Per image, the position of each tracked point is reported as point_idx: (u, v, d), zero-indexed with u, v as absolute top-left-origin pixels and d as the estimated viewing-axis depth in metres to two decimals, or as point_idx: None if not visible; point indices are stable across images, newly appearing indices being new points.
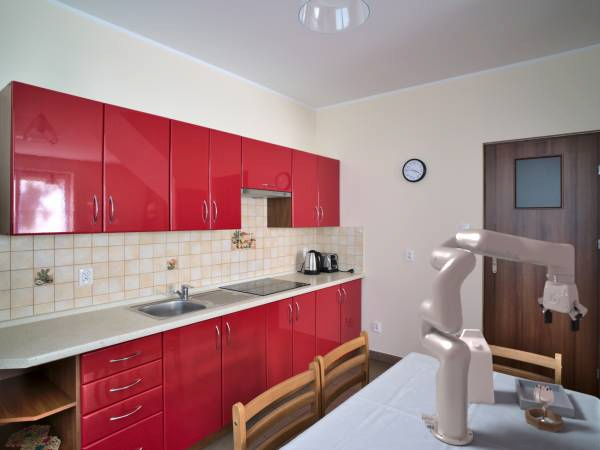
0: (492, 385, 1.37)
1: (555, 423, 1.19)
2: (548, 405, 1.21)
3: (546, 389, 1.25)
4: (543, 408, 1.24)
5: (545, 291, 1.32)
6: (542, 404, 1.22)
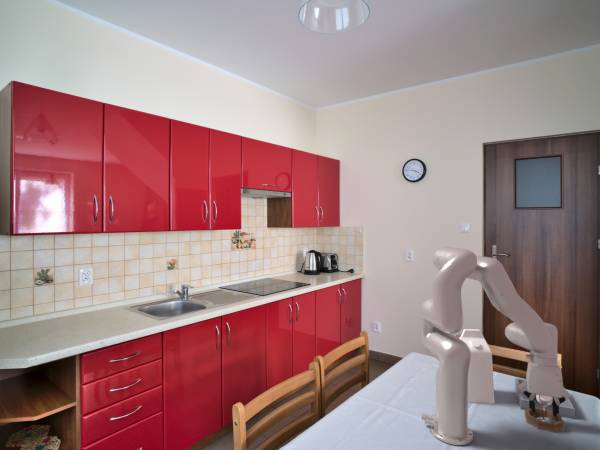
0: (492, 385, 1.37)
1: (555, 423, 1.19)
2: (548, 405, 1.21)
3: None
4: (543, 408, 1.24)
5: (531, 375, 1.23)
6: (542, 404, 1.22)
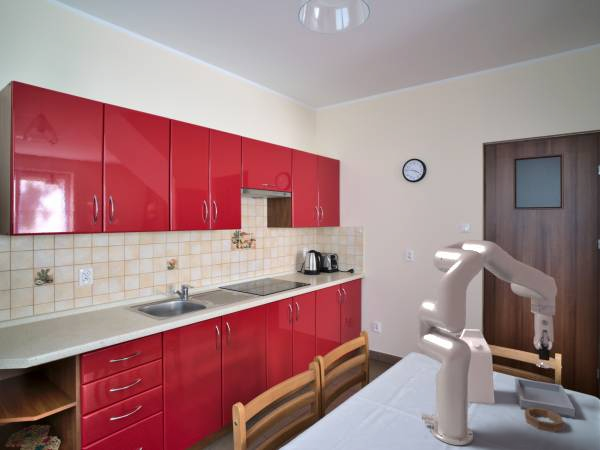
0: (492, 385, 1.37)
1: (555, 423, 1.19)
2: None
3: None
4: None
5: (552, 325, 1.32)
6: None
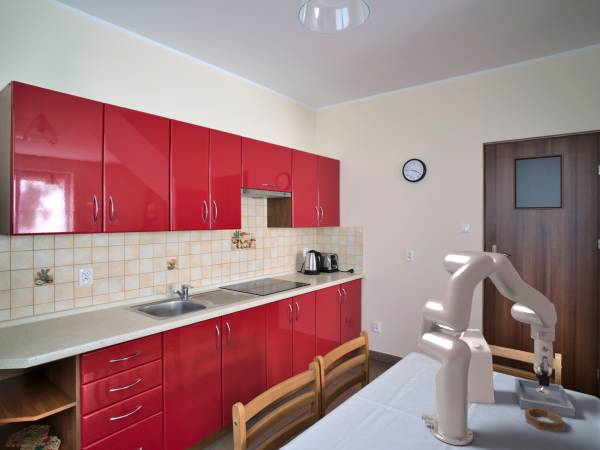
0: (492, 385, 1.37)
1: (555, 423, 1.19)
2: None
3: None
4: None
5: (552, 352, 1.33)
6: None
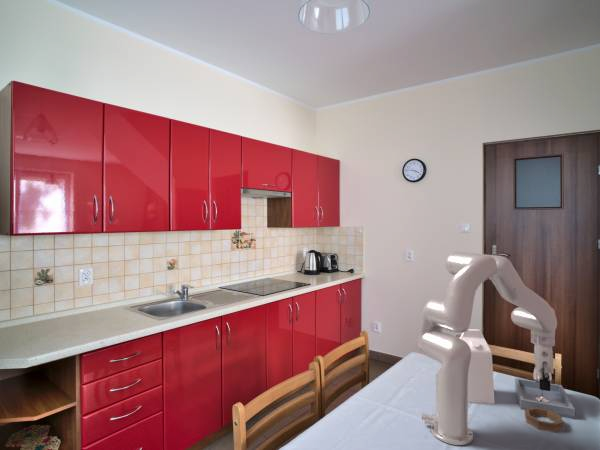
0: (492, 385, 1.37)
1: (555, 423, 1.19)
2: None
3: (534, 369, 1.40)
4: None
5: (552, 357, 1.33)
6: (550, 382, 1.36)
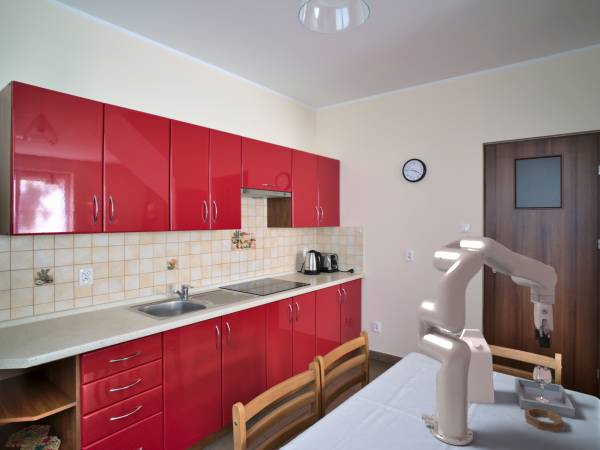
0: (492, 385, 1.37)
1: (555, 423, 1.19)
2: None
3: (534, 369, 1.39)
4: (542, 386, 1.37)
5: (552, 314, 1.33)
6: (550, 382, 1.36)
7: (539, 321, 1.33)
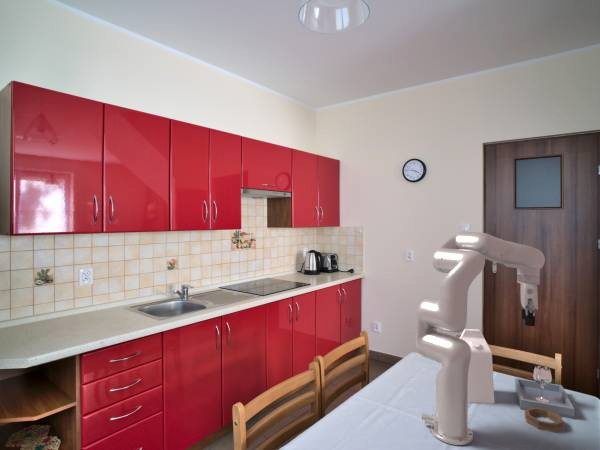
0: (492, 385, 1.37)
1: (555, 423, 1.19)
2: None
3: (534, 369, 1.39)
4: (543, 386, 1.37)
5: None
6: (550, 382, 1.36)
7: (525, 300, 1.40)
